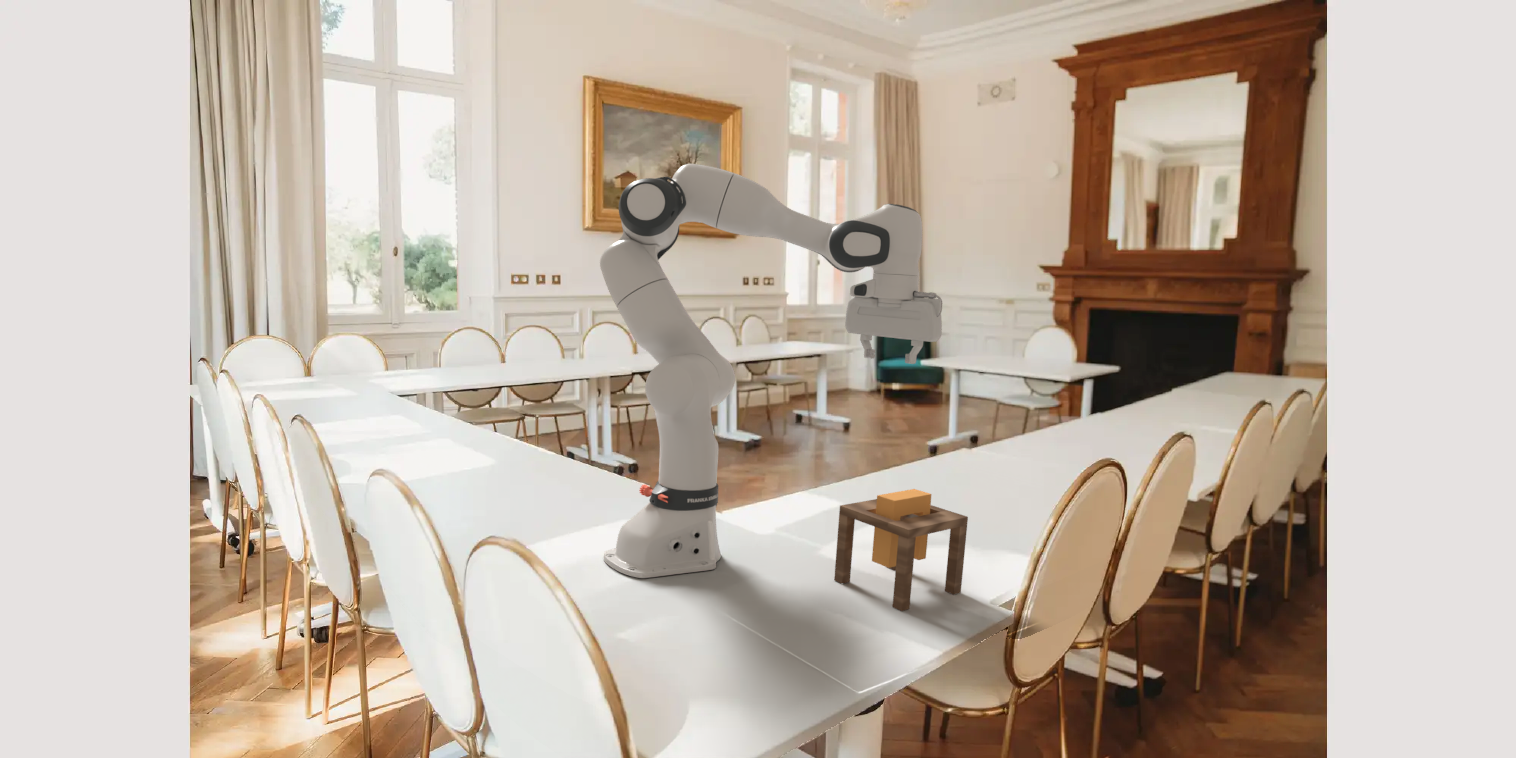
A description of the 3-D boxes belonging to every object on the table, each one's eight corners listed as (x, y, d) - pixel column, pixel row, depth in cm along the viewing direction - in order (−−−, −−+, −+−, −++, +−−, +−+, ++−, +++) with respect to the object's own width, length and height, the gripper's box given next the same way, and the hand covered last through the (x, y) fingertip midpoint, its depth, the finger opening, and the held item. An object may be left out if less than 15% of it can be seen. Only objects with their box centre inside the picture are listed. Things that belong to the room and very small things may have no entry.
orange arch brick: (888, 567, 143) (894, 500, 141) (871, 561, 146) (877, 495, 144) (925, 558, 149) (931, 494, 148) (908, 551, 152) (914, 488, 151)
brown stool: (901, 611, 137) (908, 529, 135) (834, 580, 149) (839, 505, 147) (960, 592, 147) (967, 516, 145) (893, 565, 159) (899, 495, 158)
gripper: (951, 293, 155) (944, 366, 157) (861, 287, 168) (856, 354, 170) (934, 292, 150) (928, 367, 152) (843, 286, 164) (838, 355, 165)
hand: (889, 360), depth 161 cm, fingers open, 8 cm apart
